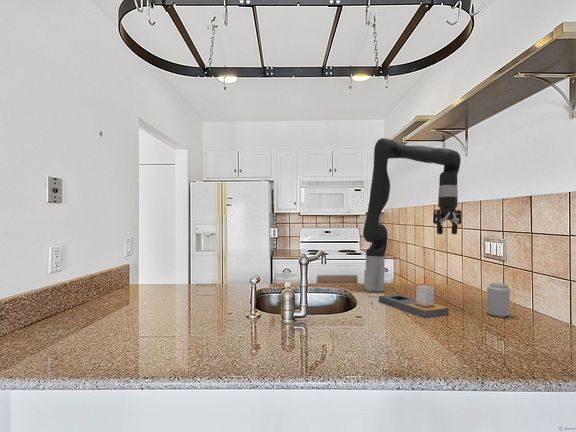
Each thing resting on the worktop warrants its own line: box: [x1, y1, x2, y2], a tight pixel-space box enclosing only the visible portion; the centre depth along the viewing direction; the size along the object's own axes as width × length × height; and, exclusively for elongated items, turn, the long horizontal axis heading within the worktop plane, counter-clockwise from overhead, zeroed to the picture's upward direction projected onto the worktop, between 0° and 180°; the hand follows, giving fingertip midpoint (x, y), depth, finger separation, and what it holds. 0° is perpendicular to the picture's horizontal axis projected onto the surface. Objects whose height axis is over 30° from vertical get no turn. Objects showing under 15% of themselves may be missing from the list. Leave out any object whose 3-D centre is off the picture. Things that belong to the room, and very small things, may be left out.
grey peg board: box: [378, 293, 449, 319], centre depth 147 cm, size 26×12×3 cm, turn 25°
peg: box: [415, 284, 435, 308], centre depth 141 cm, size 4×4×10 cm
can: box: [486, 282, 511, 318], centre depth 139 cm, size 8×8×12 cm
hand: (447, 234), depth 155 cm, fingers open, 8 cm apart
